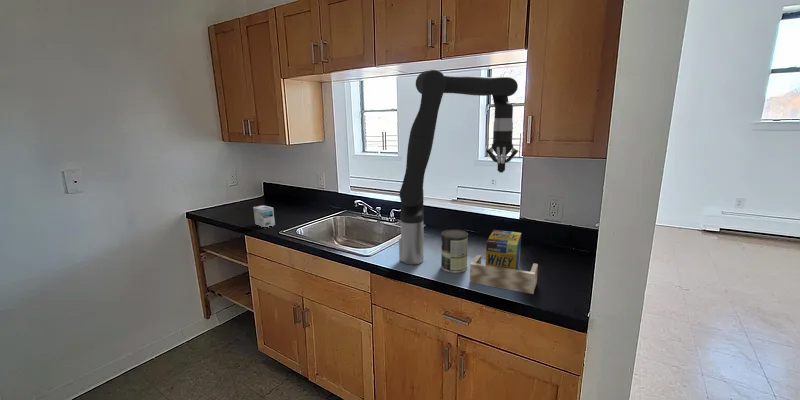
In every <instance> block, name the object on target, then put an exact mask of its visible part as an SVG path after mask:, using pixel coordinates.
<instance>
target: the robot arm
mask: <svg viewBox="0 0 800 400" xmlns="http://www.w3.org/2000/svg"><path fill="white" fill-rule="evenodd" d="M518 86H519V85H518V82H517V81H516V79H515V78H513V77H509V76H505V77H504V76H501V77H496V76H495V77H489V76H478V75H477V76H476V75H471V76H469V75H468V76H467V75H466V76H451V75H450V76H449V75H444V73H442V71H440V70H439V69H429V70H424V71H422V72H420V74H418V76H417V77H416V79H415V88H416V90H417V92H418V93H419V94H420V95H421V98H420V104H419V109H418V112H417V114H416V117H415V119H414V121H413V123H412V125H411V128H410V132H409V137H408V144H407V149H406V150H407V152H406V166H405V173H404V177H403V181H402V184H401V188H400V190H399V194H398V195H399V199H400V238H399V239H398V250H399V251H398V252H399V253H398V255H399V257H398V258H399V259H398V260H399V262H401V263H404V264H406V265H418V264H422V263H423V262H425V261H424V258H425V257H424V256H425V255H424V253H425V251H424V250H425V249H424V210H425V209H424V181H425V180H424V179H425V173H426V169H427V166H428V164H429V161H430V157H431V153H432V149H433V143H434V138H435V132H436V127H437V120H438V115H439V109H440V106H441V102H442V101H443V96H444V94H455V95H466V96H467V95H468V96H479V97H480V96H482V97H483V96H484V97H485V96H492V100H493V105H494V121H493V129H492V134H493V135H492V144H491V147H489V148H488V149H486V151H485V152H486V153H487V154H488V156H489V157H490V159H491V160H492V162H495V163H497V172H498V173H500V174H501V173H504V172H505V170H506V164H507V163H509V162H511V160H512V159H513V158H514V157H515V156H516V155H517V153H519V150H518V149H516V148H515V147H514V144H513V131H514V123H513V122H514V121H513V115H514V106H513V104H512V103H510V102H509V97H511V96H513V95H515V94H516V93H517V91H518ZM510 152H511V154H510V155H509V156H508V154H509V153H510ZM494 153H495V154H496V155H495V154H494ZM507 156H508V157H507Z"/></svg>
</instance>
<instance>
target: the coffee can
mask: <svg viewBox="0 0 800 400" xmlns="http://www.w3.org/2000/svg"><path fill="white" fill-rule="evenodd" d="M440 237H441V239H440V240H441V242H440V243H441V250H440V251H441V252H440V253H441V255H440V256H441V261H440V262H441V264H440V268H441V270H442V271H445V272H447V273H451V274H452V273H453V274H455V273H456V274H457V273H462V272H465V271H467V270H468V247H469V246H468V242H469V241H468V238H469V233H468V232H467V231H465V230H463V229H445V230H443V231H442V232H441V233H440Z"/></svg>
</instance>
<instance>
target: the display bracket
mask: <svg viewBox="0 0 800 400" xmlns="http://www.w3.org/2000/svg"><path fill="white" fill-rule="evenodd" d="M538 265H539V264H538V263H534V262H533V264H532V267H531V269H530V271H527V270H521V269H519V270H515V269H509V268H503V267H496V266H490V265H486V264H485V263H484V264H483V263H482V255H481V254H477V255H476V256H475V257H474V258H473V260H472V261H471V263H470V264H469V283H471V284H476V285H482V286H487V287H493V288H498V289H504V290H509V291H515V292H519V293H520V292H521V293H525V294H531V295H534V293H535V289H536V286H537V284H538V283H537V282H538V269H539V268H538V267H539V266H538Z"/></svg>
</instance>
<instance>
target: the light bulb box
mask: <svg viewBox="0 0 800 400" xmlns="http://www.w3.org/2000/svg"><path fill="white" fill-rule="evenodd" d="M252 208H253V215H254V223H255V224H256V225H259V226H261V227H260V228H262V227H268V228H270V227H269V226H272V227H275V226H276V221H275V220H276V219H275V215H274V214H275V213H274V207H271V206H267V205H265V204H264V205H263V204H262V205H258V206H253V207H252ZM255 224H254V225H255ZM256 225H255V226H256ZM274 225H275V226H274ZM259 226H258V227H259Z"/></svg>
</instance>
